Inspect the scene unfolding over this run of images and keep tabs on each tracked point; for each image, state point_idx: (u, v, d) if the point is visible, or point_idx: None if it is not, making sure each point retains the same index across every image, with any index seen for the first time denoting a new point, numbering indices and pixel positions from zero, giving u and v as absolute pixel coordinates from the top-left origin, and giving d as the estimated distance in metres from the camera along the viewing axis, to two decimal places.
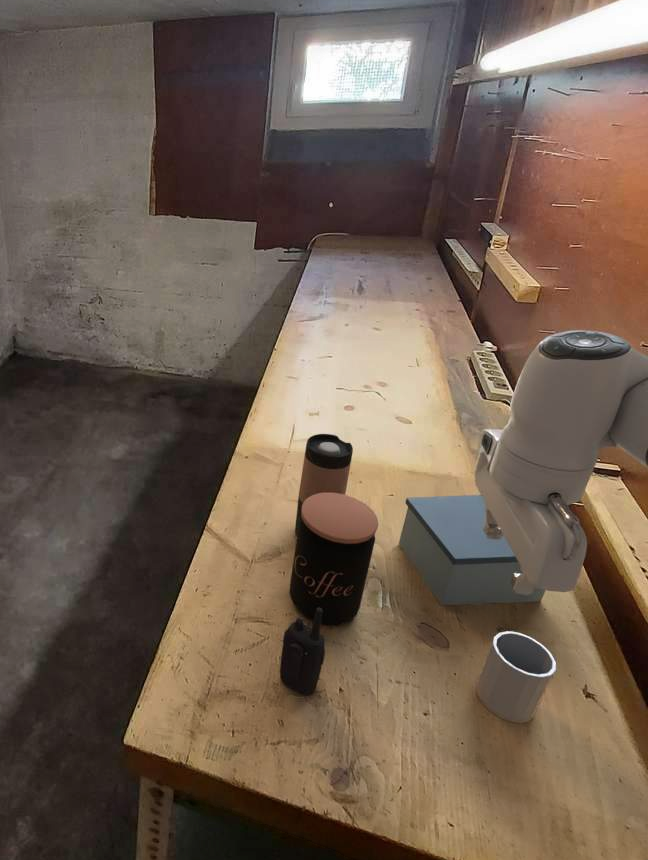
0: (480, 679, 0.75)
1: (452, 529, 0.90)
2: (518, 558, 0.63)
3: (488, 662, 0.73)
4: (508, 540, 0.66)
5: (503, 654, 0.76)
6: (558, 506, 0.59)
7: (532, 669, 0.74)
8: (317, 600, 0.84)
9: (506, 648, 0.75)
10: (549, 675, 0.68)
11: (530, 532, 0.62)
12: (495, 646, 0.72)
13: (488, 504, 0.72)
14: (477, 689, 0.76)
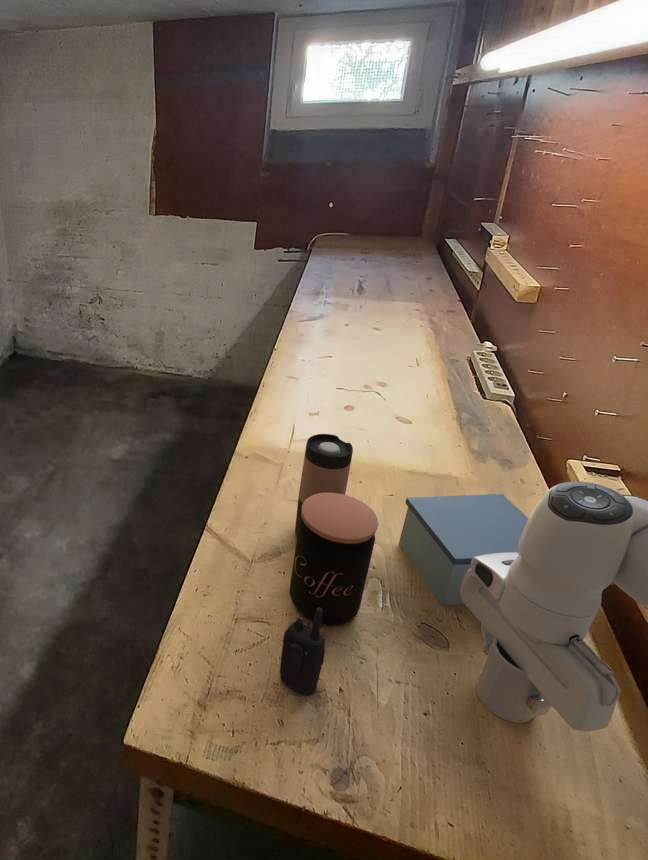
0: (480, 679, 0.75)
1: (452, 529, 0.90)
2: (545, 695, 0.66)
3: (488, 662, 0.73)
4: (526, 672, 0.69)
5: (503, 654, 0.75)
6: (585, 652, 0.62)
7: None
8: (317, 600, 0.84)
9: None
10: None
11: (556, 672, 0.65)
12: (495, 646, 0.72)
13: (487, 627, 0.75)
14: (477, 689, 0.76)
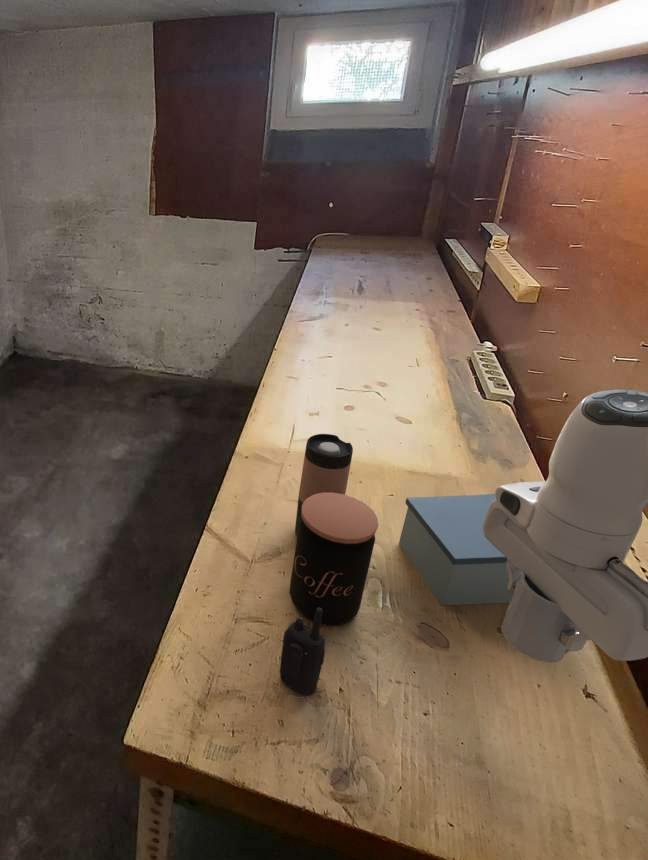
0: (507, 618, 0.70)
1: (452, 529, 0.90)
2: (581, 626, 0.61)
3: (515, 598, 0.68)
4: (558, 604, 0.63)
5: None
6: (626, 574, 0.57)
7: None
8: (317, 600, 0.84)
9: None
10: None
11: (593, 599, 0.59)
12: (523, 580, 0.67)
13: (514, 561, 0.69)
14: (503, 630, 0.71)
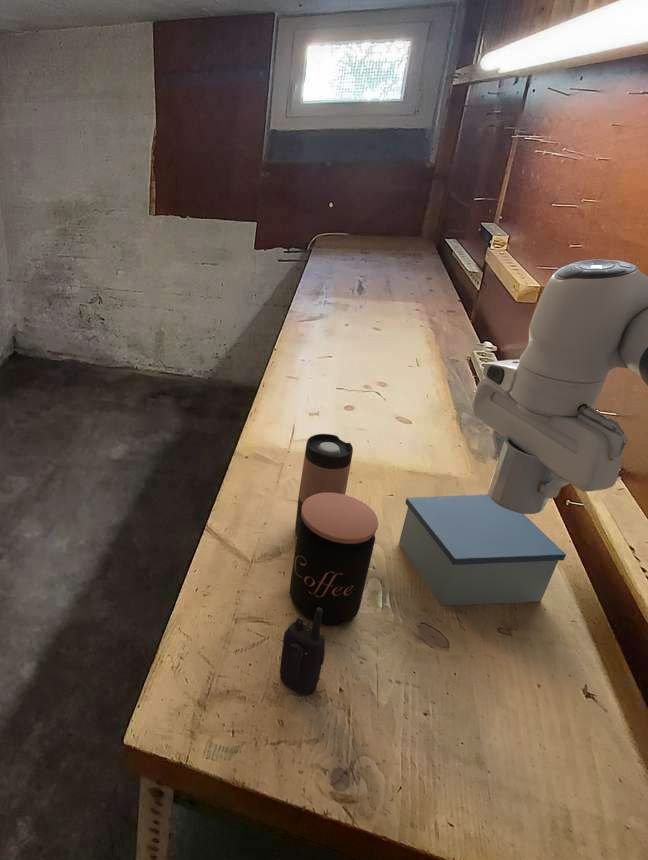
0: (492, 481, 0.79)
1: (452, 529, 0.90)
2: (556, 469, 0.70)
3: (500, 460, 0.77)
4: (537, 456, 0.73)
5: None
6: (593, 415, 0.66)
7: None
8: (317, 600, 0.84)
9: None
10: None
11: (566, 443, 0.69)
12: (507, 441, 0.76)
13: (499, 430, 0.79)
14: (489, 492, 0.80)
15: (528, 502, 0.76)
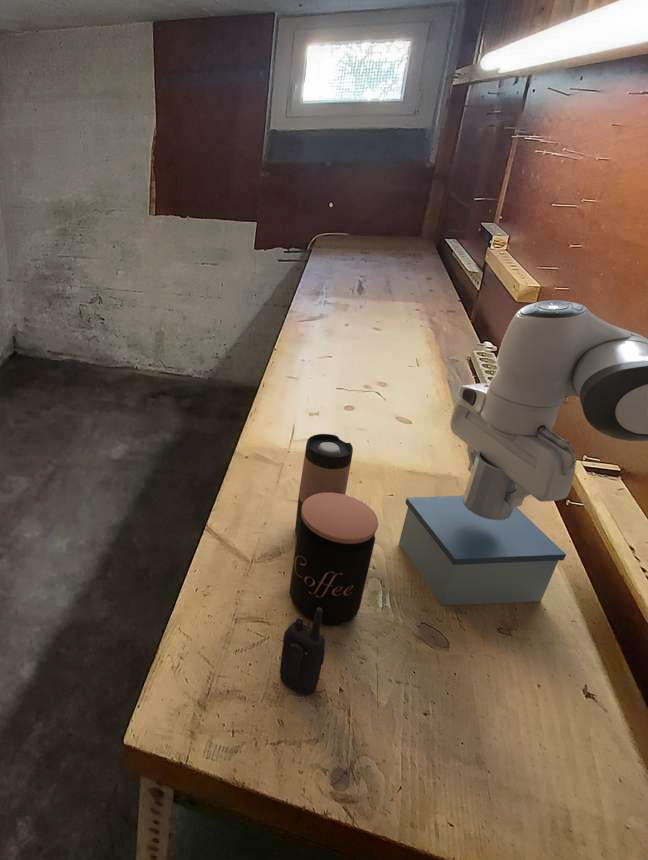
0: (466, 490, 0.89)
1: (452, 529, 0.90)
2: (518, 482, 0.80)
3: (472, 472, 0.87)
4: None
5: None
6: (550, 435, 0.76)
7: None
8: (317, 600, 0.84)
9: (488, 463, 0.89)
10: None
11: (527, 459, 0.79)
12: (478, 456, 0.86)
13: (472, 445, 0.89)
14: (463, 500, 0.90)
15: (496, 509, 0.86)
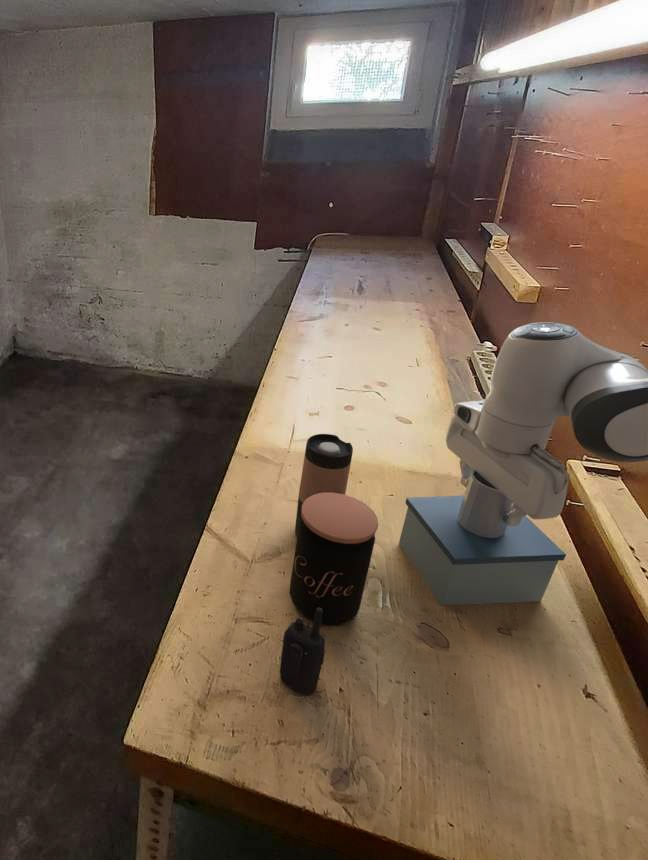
0: (460, 508, 0.91)
1: (452, 529, 0.90)
2: (512, 499, 0.82)
3: (467, 490, 0.89)
4: (498, 487, 0.84)
5: None
6: (543, 454, 0.77)
7: None
8: (317, 600, 0.84)
9: (482, 482, 0.91)
10: None
11: (520, 477, 0.80)
12: (472, 475, 0.88)
13: (467, 462, 0.90)
14: (458, 517, 0.92)
15: (490, 528, 0.87)
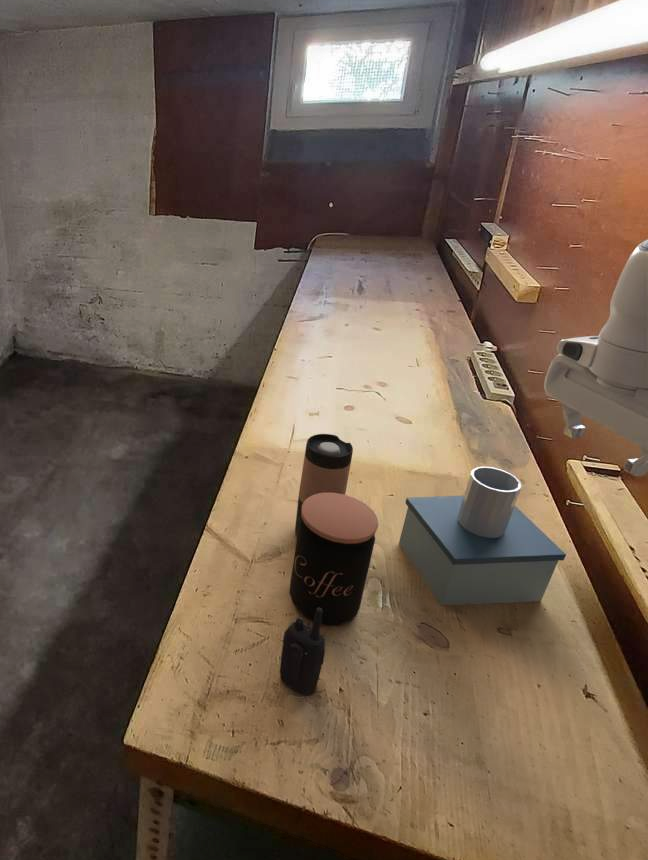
0: (460, 508, 0.91)
1: (452, 529, 0.90)
2: (641, 443, 0.70)
3: (467, 490, 0.89)
4: (619, 431, 0.73)
5: None
6: None
7: None
8: (317, 600, 0.84)
9: (482, 482, 0.91)
10: (515, 491, 0.84)
11: None
12: (472, 475, 0.88)
13: (575, 406, 0.79)
14: (458, 517, 0.92)
15: (490, 528, 0.87)
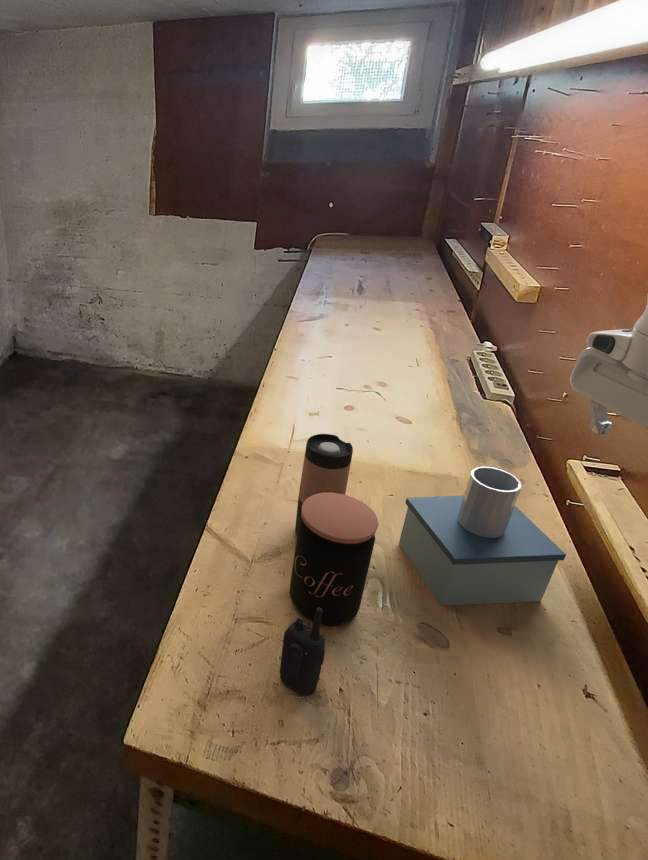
0: (460, 508, 0.91)
1: (452, 529, 0.90)
2: None
3: (467, 490, 0.89)
4: None
5: None
6: None
7: None
8: (317, 600, 0.84)
9: (482, 482, 0.91)
10: (515, 491, 0.84)
11: None
12: (472, 475, 0.88)
13: (604, 401, 0.77)
14: (458, 517, 0.92)
15: (490, 528, 0.87)
